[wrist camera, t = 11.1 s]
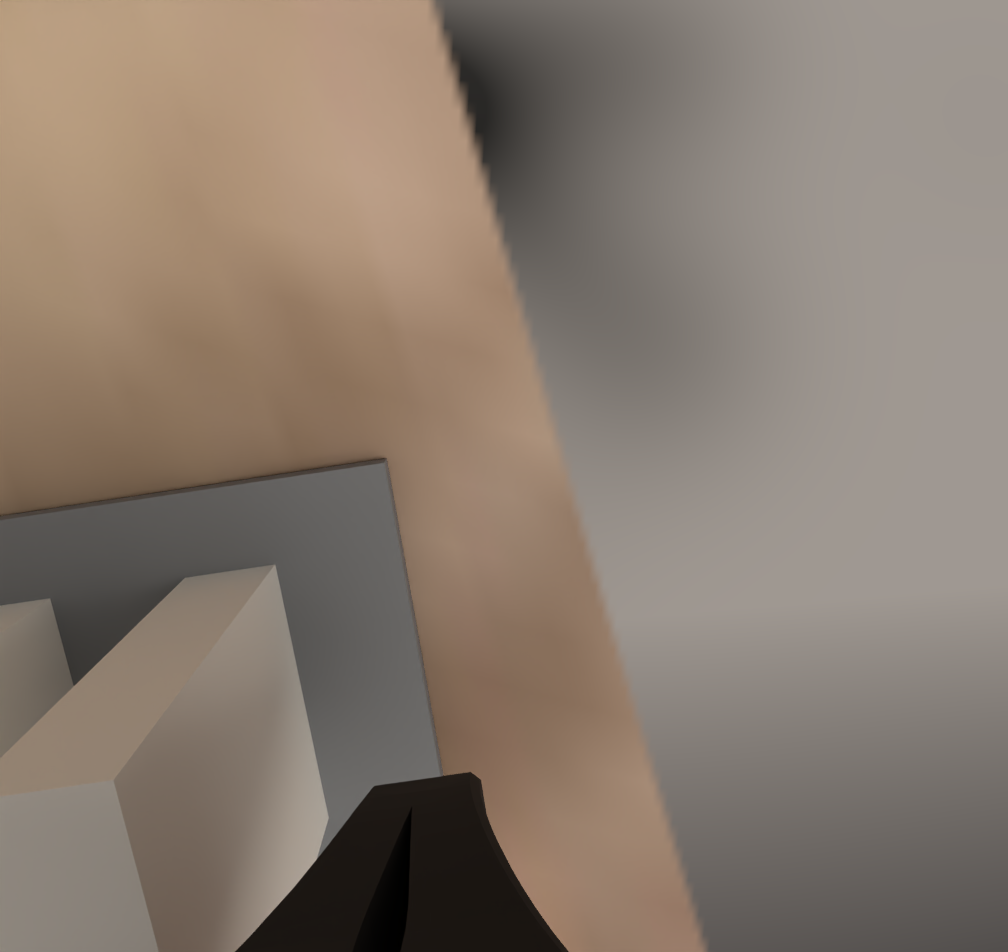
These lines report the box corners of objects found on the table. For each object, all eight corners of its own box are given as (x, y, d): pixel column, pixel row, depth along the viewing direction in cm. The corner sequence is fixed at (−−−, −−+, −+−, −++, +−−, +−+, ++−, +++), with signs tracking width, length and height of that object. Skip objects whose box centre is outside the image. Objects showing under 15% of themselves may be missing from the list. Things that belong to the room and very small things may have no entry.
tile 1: (275, 564, 16) (112, 780, 9) (328, 817, 17) (220, 1187, 10) (185, 577, 16) (-48, 803, 9) (243, 830, 17) (77, 1207, 10)
